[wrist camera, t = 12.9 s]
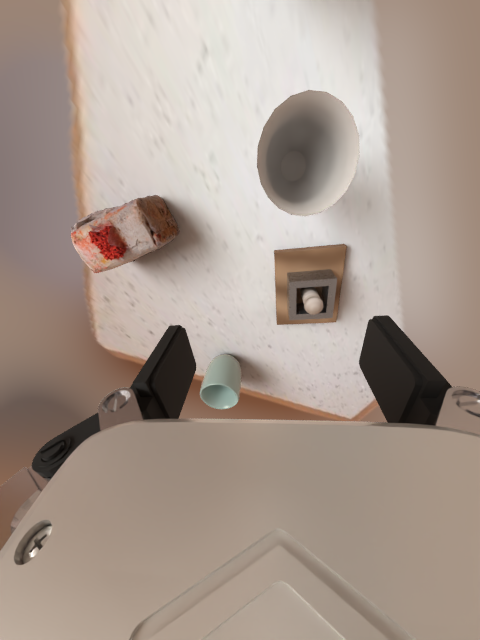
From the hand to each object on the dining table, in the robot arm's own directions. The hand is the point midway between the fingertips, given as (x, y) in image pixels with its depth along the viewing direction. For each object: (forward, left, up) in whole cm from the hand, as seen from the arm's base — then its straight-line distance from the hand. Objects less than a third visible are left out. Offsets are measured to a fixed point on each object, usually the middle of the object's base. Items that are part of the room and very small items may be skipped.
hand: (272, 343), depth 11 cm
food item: (-3, -22, -29) cm, 36 cm away
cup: (+28, -11, -28) cm, 41 cm away
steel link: (+10, +6, -27) cm, 29 cm away
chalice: (-8, +3, -28) cm, 30 cm away
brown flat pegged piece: (+10, +6, -28) cm, 31 cm away
